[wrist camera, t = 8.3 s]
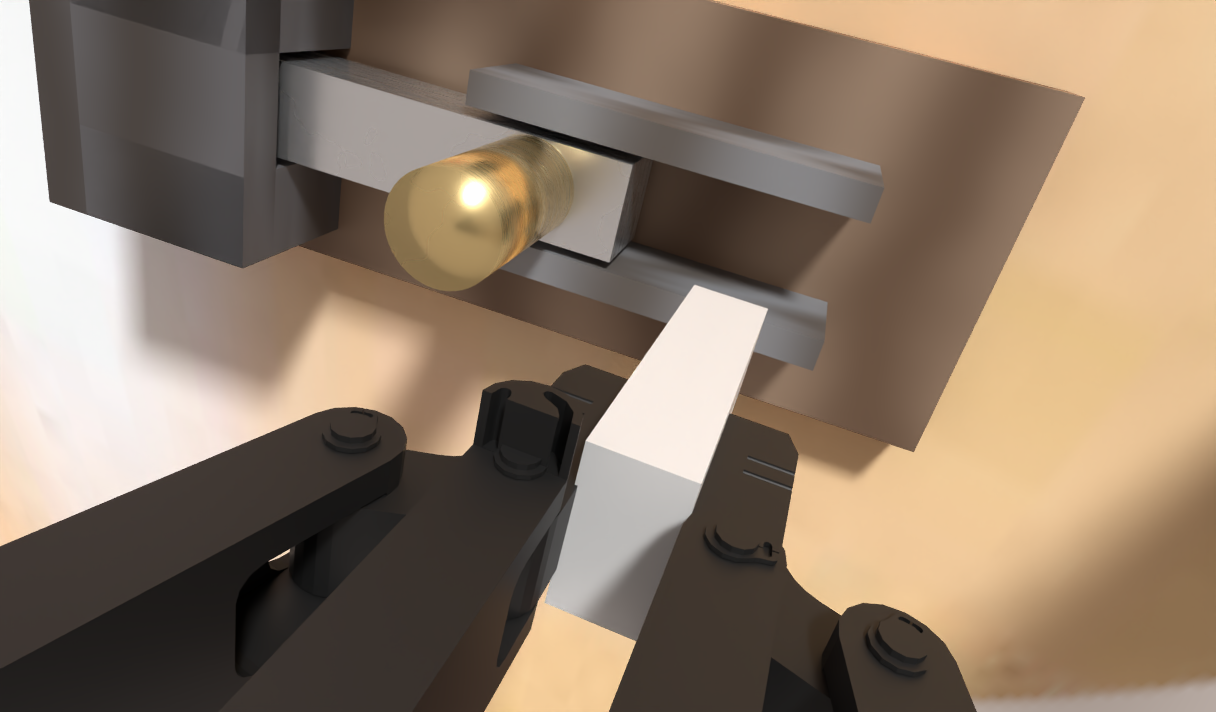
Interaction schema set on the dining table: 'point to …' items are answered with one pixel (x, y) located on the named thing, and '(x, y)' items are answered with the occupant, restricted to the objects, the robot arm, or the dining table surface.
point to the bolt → (455, 170)
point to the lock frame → (614, 117)
